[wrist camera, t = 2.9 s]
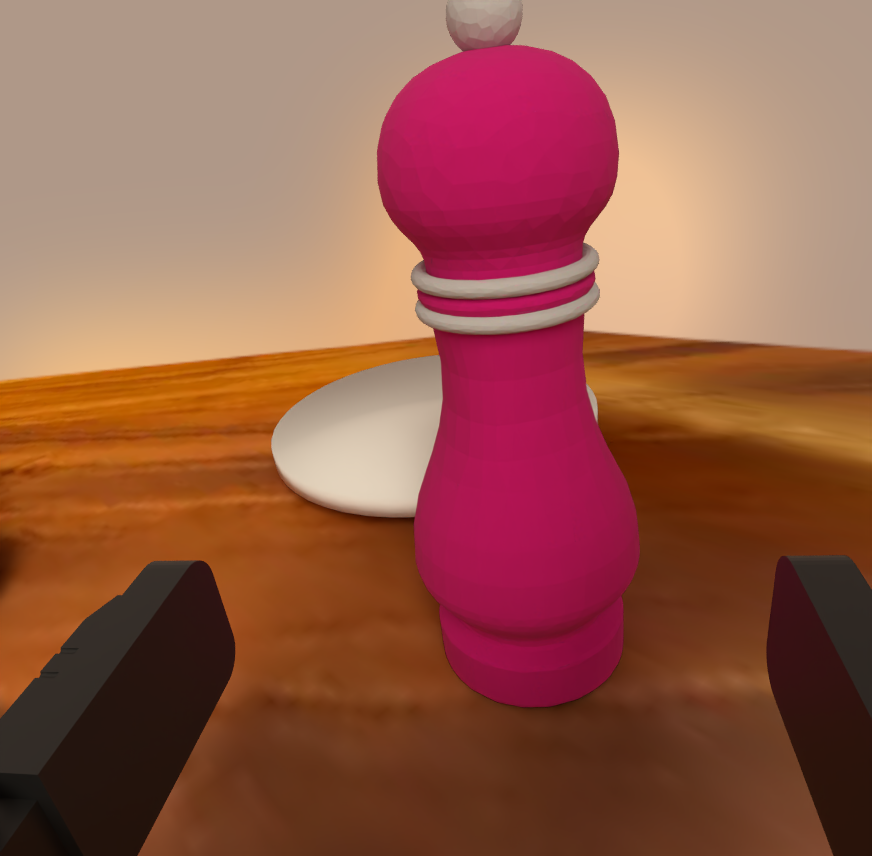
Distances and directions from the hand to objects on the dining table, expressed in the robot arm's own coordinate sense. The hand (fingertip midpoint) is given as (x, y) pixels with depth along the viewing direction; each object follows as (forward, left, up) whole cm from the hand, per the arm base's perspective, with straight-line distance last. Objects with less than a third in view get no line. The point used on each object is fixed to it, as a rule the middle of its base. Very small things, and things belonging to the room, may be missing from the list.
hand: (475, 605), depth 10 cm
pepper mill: (+1, -11, -11) cm, 16 cm away
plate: (+8, -26, -11) cm, 29 cm away
